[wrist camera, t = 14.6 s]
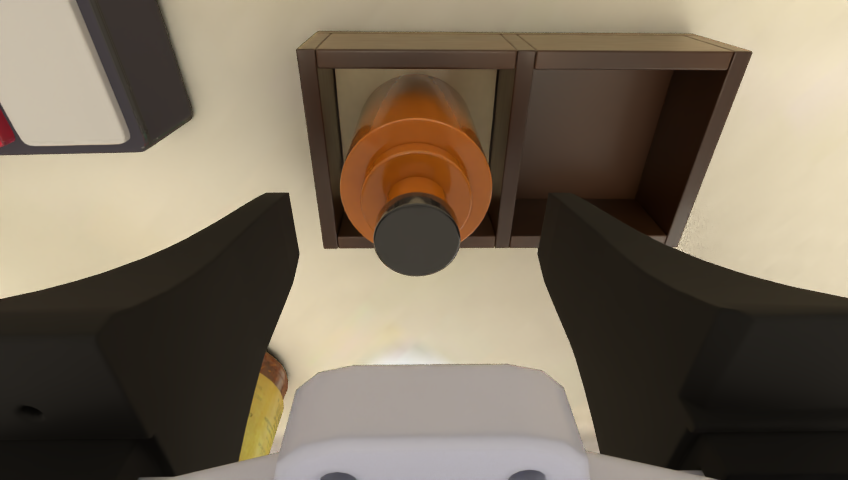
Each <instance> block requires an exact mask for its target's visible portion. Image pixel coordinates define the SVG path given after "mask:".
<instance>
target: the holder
mask: <svg viewBox="0 0 848 480" xmlns="http://www.w3.org/2000/svg"><path fill="white" fill-rule="evenodd" d="M296 53H297V60H298V67H299V74H300V81H301V89H302V96H303V103H304V110H305V117H306V125H307V132H308V139H309V146H310V153H311V160H312V168H313V175H314V182H315V189H316V196H317V204H318V211H319V218H320V225H321V232H322V239H323V247H324V249H337V248H338V247H339V248H374V243H372V242H371V241H369V240H368V239H366V238H365V237H364V236H363V235H362V234H361V233H360V232H359V231H358V230H357V229H356V228H355V227H354V226H353V224H352V223H351V221H350V220H349V218H348V216H347V214H346V212H345V210H344V207H343V204H342V200H341V195H340V178H341V173H342V169H343V165H344V162H345V159H346V156H347V153H348V150H349V147H350V144H351V141H352V138H353V134H354V131H355V128H356V125H357V122H358V119H359V116H360V113H361V110H362V108H363V106H364V104H365V102H366V100H367V99H368V97H369V96H370V95H371V94H372V92H373V91H374V90H376V89H377V88H378V87H379V86H380V85H382V84H383V83H385V82H386V81H388V80H390V79H392V78H395V77H398V76H402V75H407V74H424V75H429V76H433V77H435V78H438V79H440V80H442V81H444V82H446V83H448V84H449V85H450V86H452V87H453V88H454V89H455V90H456V91H457V92H458V93H459V94H460V95H461V96H462V98H463V99H464V101H465V102H466V104H467V106H468V108H469V111H470V113H471V116H472V119H473V122H474V125H475V127H476V130H477V133H478V136H479V139H480V142H481V145H482V147H483V150H484V153H485V156H486V159H487V162H488V164H489V168H490V171H491V176H492V196H491V202H490V205H489V208H488V210H487V212H486V215H485V217H484V218H483V220H482V221H481V223H480V224H479V226H478V227H477V228H476V229H475V230H474V232H473V233H472V234H470V235H469V236H468V237H467V238H466V239H464V240H463V241H462V242H460V247H459V248H494V246H495V248H509V247H510V248H539V243H540V237H541V231H542V226H543V220H544V215H545V209H546V204H547V198H548V193H572V194H575V195H577V196H579V197H581V198H582V199H584V200H586V201H588V202H589V203H591V204H593V205H594V206H596V207H598V208H599V209H601V210H603V211H604V212H606V213H608V214H609V215H611V216H613V217H614V218H616V219H618V220H620V221H621V222H623V223H625V224H626V225H628V226H630V227H632V228H634V229H635V230H637V231H639V232H641V233H643V234H645V235H647V236H649V237H651V238H653V239H655V240H657V241H659V242H661V243H663V244H665V245H667V246H670V247H677V246H678V243H679V241H680V238H681V236H682V233H683V231H684V228H685V225H686V223H687V220H688V218H689V215H690V212H691V210H692V207H693V205H694V202H695V200H696V197H697V194H698V192H699V189H700V187H701V184H702V181H703V179H704V176H705V174H706V171H707V169H708V166H709V163H710V161H711V158H712V156H713V153H714V150H715V148H716V145H717V143H718V140H719V138H720V135H721V132H722V130H723V127H724V125H725V122H726V119H727V117H728V114H729V112H730V109H731V107H732V104H733V101H734V99H735V96H736V94H737V91H738V88H739V86H740V83H741V81H742V78H743V76H744V73H745V70H746V68H747V65H748V63H749V60H750V57H751V55H752V51H749V50H746V49H742V48H739V47H736V46H732V45H729V44H725V43H722V42H719V41H715V40H712V39H709V38H705V37H702V36H698V35H695V34H672V33H514V32H356V31H318V32H316V33H315V34H314V35H313V36H312V37H310V38H309V39H308V40H307V41H306V42H304V43H303V44H302V45H301V46H300V47H298V48H297V49H296Z"/></svg>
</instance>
